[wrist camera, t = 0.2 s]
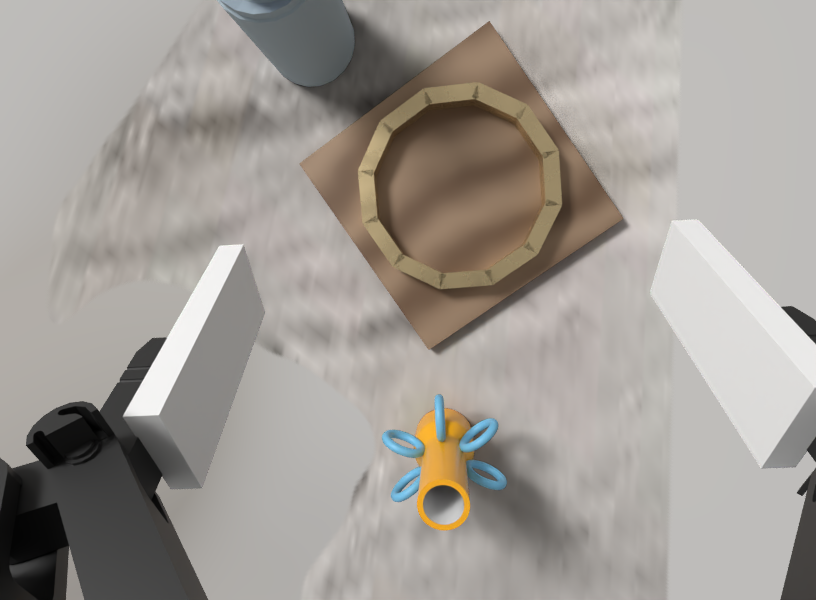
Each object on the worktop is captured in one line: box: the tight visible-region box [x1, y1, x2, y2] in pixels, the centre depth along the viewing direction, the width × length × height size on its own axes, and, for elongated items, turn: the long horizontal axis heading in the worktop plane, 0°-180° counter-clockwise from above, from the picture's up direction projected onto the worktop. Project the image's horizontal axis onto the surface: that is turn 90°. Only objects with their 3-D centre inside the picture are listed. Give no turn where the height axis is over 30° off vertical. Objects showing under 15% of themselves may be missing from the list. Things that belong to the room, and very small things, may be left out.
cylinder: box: [382, 394, 507, 530], centre depth 45 cm, size 12×10×15 cm
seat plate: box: [300, 21, 623, 349], centre depth 49 cm, size 23×23×1 cm
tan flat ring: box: [358, 82, 562, 289], centre depth 48 cm, size 19×19×2 cm
